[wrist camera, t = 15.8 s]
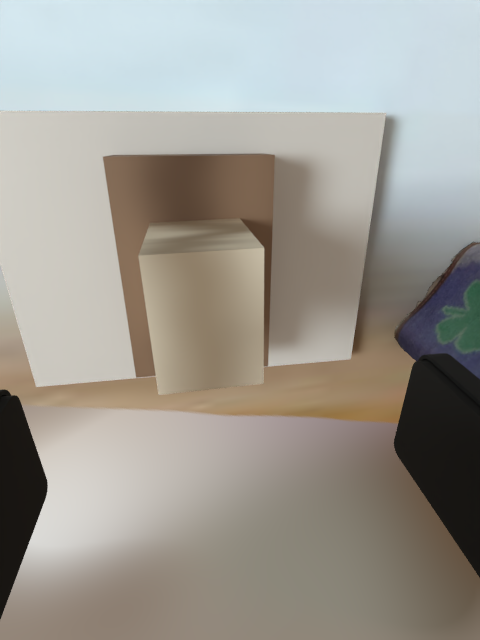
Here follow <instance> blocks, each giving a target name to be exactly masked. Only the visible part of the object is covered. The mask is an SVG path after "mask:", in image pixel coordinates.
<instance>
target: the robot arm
mask: <svg viewBox="0 0 480 640" xmlns="http://www.w3.org/2000/svg"><path fill="white" fill-rule="evenodd" d="M394 447H395V451H396V453H397V455H398V457H399V458H400V460H401V461H402V463H403V464H404V466H405V467H406V469H407V470H408V472H409V473H410V475H411V476H412V478H413V479H414V480H415V482H416V483H417V485H418V487H419V488H420V490H421V491H422V493H423V494H424V495H425V497H426V498H427V500H428V501H429V503H430V504H431V506H432V507H433V509H434V510H435V512H436V513H437V515H438V516H439V518H440V519H441V521H442V522H443V524H444V525H445V527H446V528H447V530H448V531H449V533H450V534H451V536H452V537H453V539H454V540H455V542H456V543H457V544H458V546H459V547H460V549H461V550H462V552H463V553H464V555H465V556H466V558H467V559H468V561H469V562H470V564H471V565H472V567H473V568H474V570H475V571H476V573H477V574H478V576H479V577H480V379H479V378H478V377H477V376H475V375H474V374H473V373H472V372H470V371H469V370H468V369H467V368H466V367H464V366H463V365H462V364H461V363H459V362H458V361H457V360H456V359H455V358H453V357H452V356H451V355H449V354H447V353H438V354H426V355H422V356H421V357H420V358H419V360H418V361H416V362H415V363H414V364H413V367H412V371H411V375H410V379H409V383H408V387H407V391H406V395H405V399H404V403H403V407H402V411H401V415H400V419H399V423H398V427H397V432H396V436H395V439H394ZM46 494H47V479H46V476H45V473H44V470H43V467H42V464H41V461H40V458H39V456H38V452H37V449H36V446H35V443H34V441H33V438H32V435H31V432H30V429H29V426H28V423H27V420H26V417H25V414H24V411H23V408H22V405H21V402H20V400H19V398H18V397H17V396H15V395H14V396H11V394H10V393H9V392H8V391H7V390H0V619H1V616H2V614H3V611H4V608H5V605H6V603H7V600H8V597H9V595H10V592H11V589H12V587H13V584H14V581H15V579H16V576H17V573H18V570H19V568H20V565H21V563H22V560H23V557H24V554H25V552H26V549H27V546H28V544H29V541H30V538H31V536H32V533H33V530H34V528H35V525H36V522H37V520H38V517H39V514H40V511H41V509H42V506H43V503H44V501H45V498H46Z"/></svg>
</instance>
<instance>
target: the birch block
mask: <svg viewBox="0 0 480 640" xmlns="http://www.w3.org/2000/svg"><path fill="white" fill-rule="evenodd" d="M138 257H139V264H140V270H141V277H142V284H143V291H144V298H145V305H146V312H147V319H148V326H149V333H150V339H151V346H152V353H153V360H154V367H155V374H156V381H157V388H158V395H163V394H173V393H182V392H191V391H200V390H209V389H219V388H228V387H237V386H246V385H255V384H264V247H263V246H262V244H261V243H260V242H259V241H258V240H257V238H256V237H255V236H254V235H253V234H252V232H251V231H250V230H249V229H248V228H247V226H246V225H245V224H244V223H243V222H242V220H241V219H240V218H237V219H218V220H198V221H179V222H159V223H150V224H149V227H148V230H147V233H146V236H145V238H144V241H143V244H142V247H141V250H140V252H139V255H138Z"/></svg>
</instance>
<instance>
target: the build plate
mask: <svg viewBox="0 0 480 640" xmlns="http://www.w3.org/2000/svg"><path fill="white" fill-rule="evenodd" d="M385 119H386V113H324V112H134V111H0V265H1V268H2V272H3V275H4V279H5V282H6V285H7V289H8V292H9V296H10V299H11V302H12V306H13V309H14V313H15V316H16V319H17V323H18V326H19V330H20V333H21V336H22V340H23V343H24V347H25V350H26V353H27V357H28V360H29V364H30V367H31V370H32V374H33V377H34V381H35V384H36V387H40V386H52V385H63V384H74V383H86V382H97V381H109V380H120V379H131V378H136V373H135V367H134V360H133V354H132V347H131V340H130V334H129V327H128V321H127V314H126V307H125V301H124V294H123V288H122V281H121V274H120V268H119V261H118V255H117V248H116V241H115V235H114V228H113V222H112V215H111V208H110V202H109V195H108V189H107V182H106V175H105V169H104V162H103V157H104V156H110V155H156V154H258V153H263V154H271V155H275V167H274V198H273V229H272V260H271V292H270V323H269V354H268V366H279V365H290V364H302V363H313V362H325V361H336V360H347V359H351V354H352V348H353V341H354V334H355V327H356V320H357V313H358V306H359V299H360V292H361V285H362V278H363V271H364V264H365V257H366V250H367V244H368V237H369V230H370V223H371V216H372V209H373V202H374V195H375V188H376V181H377V174H378V167H379V160H380V153H381V146H382V139H383V133H384V126H385ZM268 366H264V367H268ZM150 377H154V376H150ZM138 378H143V377H138Z"/></svg>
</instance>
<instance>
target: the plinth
mask: <svg viewBox="0 0 480 640" xmlns="http://www.w3.org/2000/svg"><path fill="white" fill-rule="evenodd" d="M103 162H104V169H105V175H106V182H107V189H108V195H109V202H110V208H111V215H112V222H113V228H114V235H115V241H116V248H117V255H118V261H119V268H120V274H121V281H122V288H123V294H124V301H125V307H126V314H127V321H128V327H129V334H130V340H131V347H132V354H133V360H134V367H135V373H136V378H138V377H150V376H156V374H155V367H154V360H153V353H152V346H151V339H150V333H149V326H148V319H147V312H146V305H145V298H144V291H143V284H142V277H141V270H140V264H139V257H138V255H139V252H140V250H141V247H142V244H143V241H144V238H145V236H146V233H147V230H148V227H149V224H150V223H159V222H179V221H198V220H218V219H237V218H240V219H241V220H242V222H243V223H244V224H245V225H246V226H247V228H248V229H249V230H250V231H251V232H252V234H253V235H254V236H255V237H256V238H257V240H258V241H259V242H260V243H261V244H262V246H263V247H264V366H268V354H269V323H270V292H271V260H272V229H273V198H274V167H275V155H271V154H263V153H258V154H156V155H110V156H104V157H103Z"/></svg>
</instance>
